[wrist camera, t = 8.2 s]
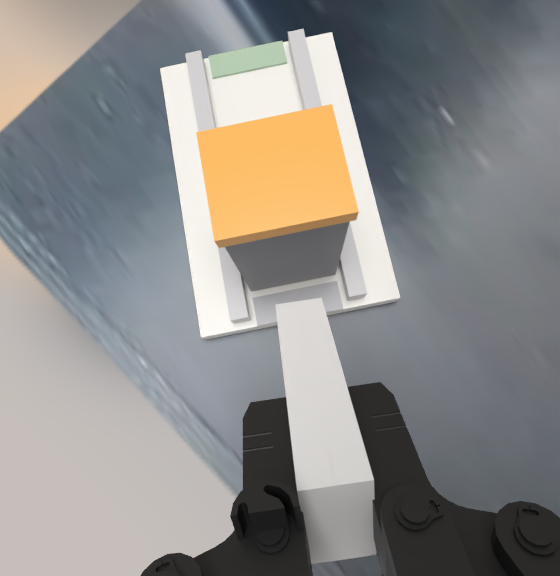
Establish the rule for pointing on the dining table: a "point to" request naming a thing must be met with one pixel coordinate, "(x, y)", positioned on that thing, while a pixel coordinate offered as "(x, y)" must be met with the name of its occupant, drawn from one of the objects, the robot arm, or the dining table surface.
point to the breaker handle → (279, 195)
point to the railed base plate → (252, 106)
